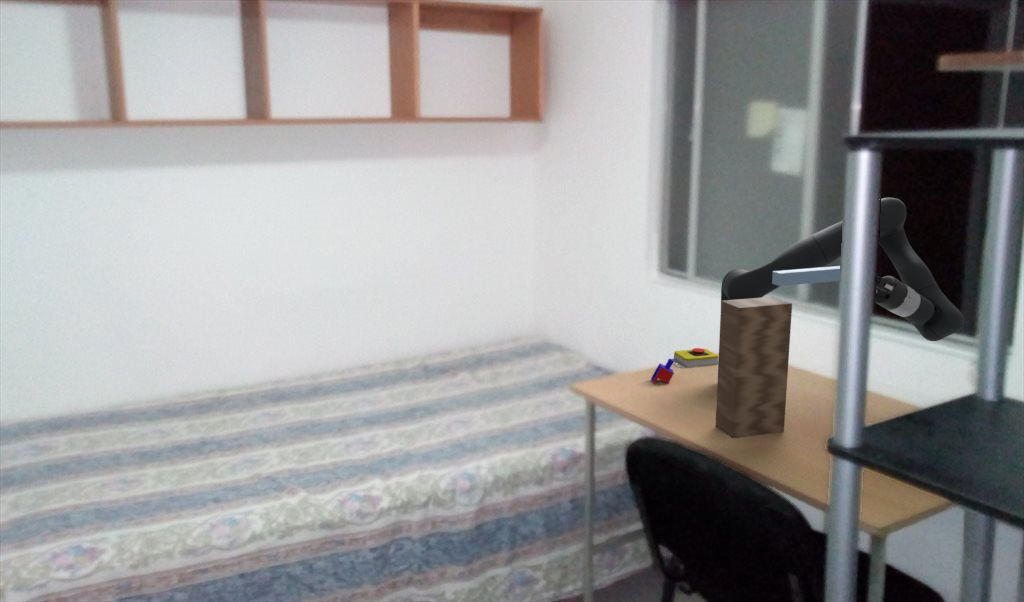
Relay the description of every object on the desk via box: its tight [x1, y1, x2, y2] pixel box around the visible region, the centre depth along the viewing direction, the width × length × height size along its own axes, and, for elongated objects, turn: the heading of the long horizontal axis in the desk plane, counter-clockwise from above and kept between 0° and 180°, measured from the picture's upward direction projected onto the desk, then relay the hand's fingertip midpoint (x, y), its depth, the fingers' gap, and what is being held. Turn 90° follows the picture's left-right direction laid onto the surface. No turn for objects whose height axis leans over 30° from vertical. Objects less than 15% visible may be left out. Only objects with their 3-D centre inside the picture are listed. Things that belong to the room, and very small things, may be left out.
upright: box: [715, 296, 793, 439], centre depth 194 cm, size 14×8×32 cm, turn 105°
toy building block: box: [650, 357, 675, 384], centre depth 233 cm, size 4×4×8 cm
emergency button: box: [667, 347, 719, 369], centre depth 252 cm, size 9×4×15 cm
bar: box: [772, 265, 841, 287], centre depth 193 cm, size 24×3×3 cm, turn 104°
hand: (846, 267), depth 195 cm, fingers closed on bar, 3 cm apart
